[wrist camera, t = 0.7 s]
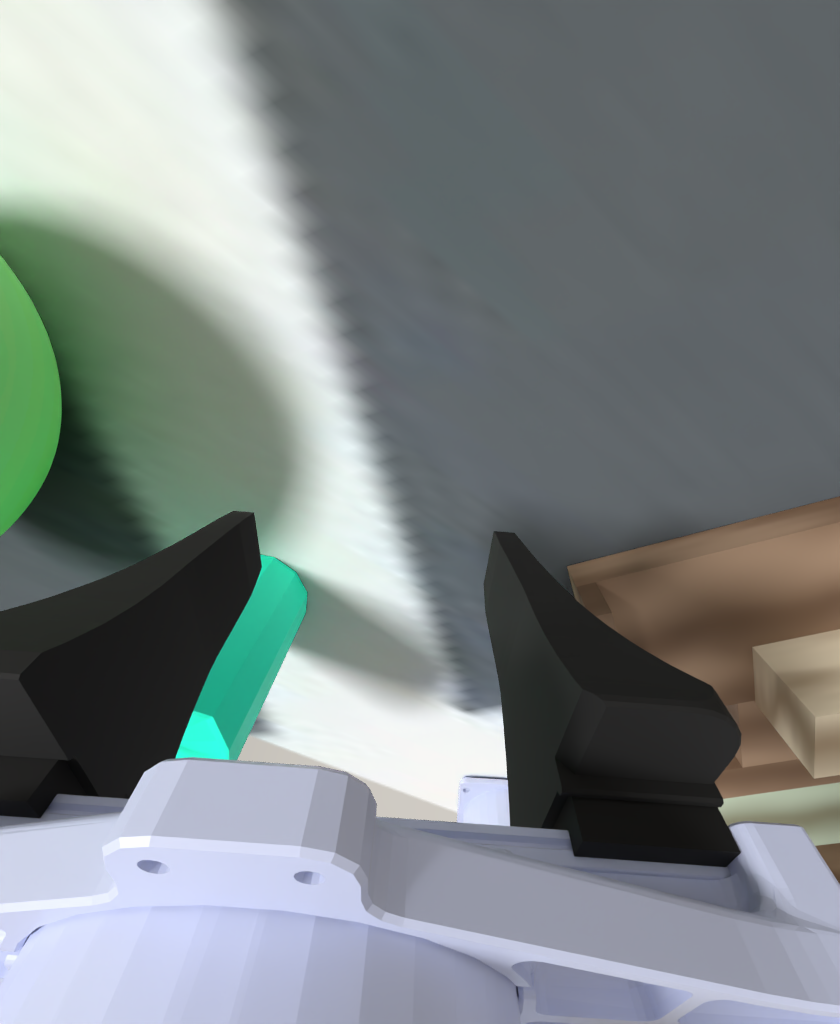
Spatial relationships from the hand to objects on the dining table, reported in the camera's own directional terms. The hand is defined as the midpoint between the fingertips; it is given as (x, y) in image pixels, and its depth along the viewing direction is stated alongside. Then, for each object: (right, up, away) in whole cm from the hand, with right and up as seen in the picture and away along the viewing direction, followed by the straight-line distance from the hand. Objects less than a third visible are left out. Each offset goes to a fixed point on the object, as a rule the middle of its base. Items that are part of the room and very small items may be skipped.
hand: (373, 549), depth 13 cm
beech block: (+23, -8, +11) cm, 26 cm away
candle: (-8, -4, +14) cm, 17 cm away
